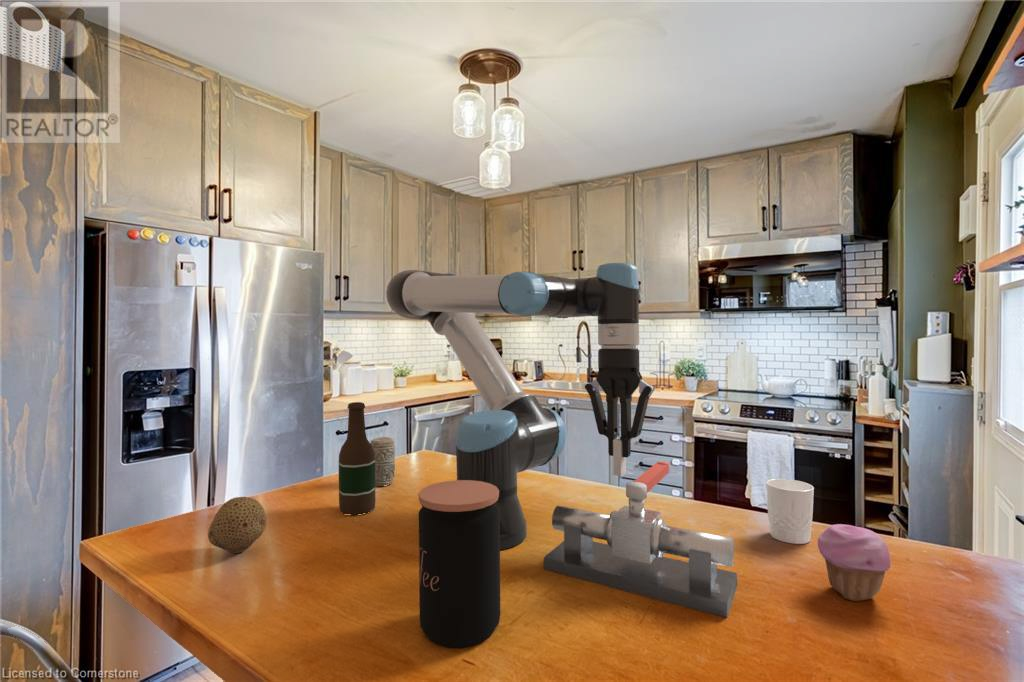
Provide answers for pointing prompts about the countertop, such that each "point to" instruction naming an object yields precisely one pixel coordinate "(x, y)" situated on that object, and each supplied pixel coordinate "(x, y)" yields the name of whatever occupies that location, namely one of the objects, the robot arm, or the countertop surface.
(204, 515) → the countertop surface
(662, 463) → the valve lever
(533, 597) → the countertop surface
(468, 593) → the coffee jar
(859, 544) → the cupcake
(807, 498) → the white cup
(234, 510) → the natural sponge
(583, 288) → the robot arm
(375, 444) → the carving
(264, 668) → the countertop surface
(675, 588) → the valve stand
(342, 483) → the beer bottle
